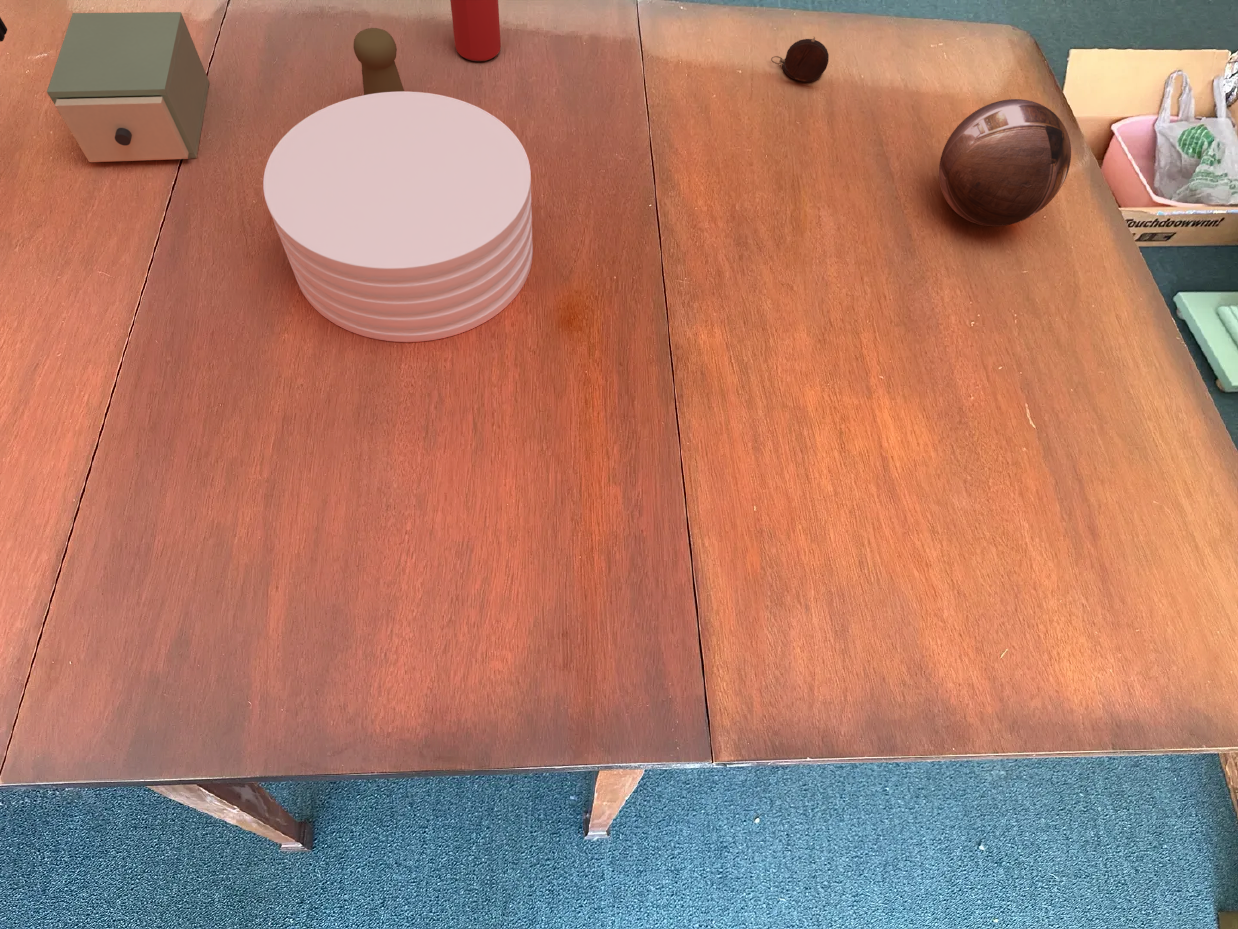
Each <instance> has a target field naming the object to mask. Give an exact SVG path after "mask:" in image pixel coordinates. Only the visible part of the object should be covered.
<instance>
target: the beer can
mask: <svg viewBox="0 0 1238 929" xmlns="http://www.w3.org/2000/svg"><path fill="white" fill-rule="evenodd" d="M449 3H450V11H451V19H452V20H451V21H452V29H453V38H454V47H455V50H456V52H457V53H458V54H459V55H460V56H461V57H462V58H464V59H466V60H467V61H468V60H469V61H472V62H486V61H490V60H492V59H494V58H495V57H497V55H498V54H499V53H500V51H501V48H502V43H501V25H500V7H499V0H450V2H449Z"/></svg>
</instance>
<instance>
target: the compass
mask: <svg viewBox="0 0 1238 929" xmlns="http://www.w3.org/2000/svg"><path fill="white" fill-rule="evenodd" d="M829 54H830V53H829V51H828V49H827V47H826V46H825V45H824V44H823V43H822V42H821V41H820V40H816V36H813V38H804V39H799V40H797V41H795V42H793V43H792V44H791V46H789V48H788V49H787V51H786V54H785V58H782V57H781V56H778V55H773V56H772V57H771V58H770V61H771V62H772V63H773V64H776V65H781V64H782V66H781V68H782V70H783V72H784V74H786V76H787V77H789V78H790V79H792V80H794V81H797V82H802V83H811V82H815V81H817V80H819V79H820V78H821V77H822V75H823V74H824V72H825V71H826V70H827V68H828V65H829V59H830V58H829V57H830V56H829ZM774 58H778V59H779V61H778V62H776V61H774V60H773V59H774Z"/></svg>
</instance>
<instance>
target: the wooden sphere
mask: <svg viewBox="0 0 1238 929" xmlns="http://www.w3.org/2000/svg"><path fill="white" fill-rule="evenodd" d="M1069 135H1070V134H1069V132H1068V130H1067V128H1066V126H1065V124H1064V123H1063V121H1062V120H1061V118H1060V117H1059V116H1058V115H1057V114H1056V113H1055V112H1053V111H1052V110H1051V109H1050V108H1048V107H1047V106H1045V105H1043V104H1041V103H1038V102H1036V101H1034V100H1033V101H1032V100H1029V99H1022V98H1021V99H1020V98H1010V99H1002V100H998V101H995V102H991V103H989V104H986V105H985V106H982V107H980V108H978V109H977V110H975V111H973V112H972V113H970V114H969V115H968V116H966V117H965V118H964V119H963V120H962V121H961V122H960V123H959V124H957V126H956V127H955V128H954V130H953V131H952V132H951V134H950V136H949V137H948V139H947V141H946V143H945V144H944V147H943V149H942V152H941V156H940V160H939V164H938V166H939V167H938V180H939V187H940V190H941V192H942V195H943V197H944V199H945V202H946V203H947V204H948V206H950V208H951V209H952V211H954V212H955V213H956V214H957V215H958V216H960V217H962V219H965V220H966V221H968V222H970V223H974V224H976V225H980V226H985V227H1005V226H1009V225H1014V224H1017V223H1021V222H1022V221H1025V220H1027V219H1029V218H1031V217H1032V216H1034V215H1036V214H1037V213H1039V212H1040V211H1041V210H1043V209H1044V208H1045V207H1046V206H1048V205H1049V204H1050V202H1052V200H1053V199H1054V198H1055V197H1056V195H1058V193H1059V191H1060V190H1061V189H1062V187H1063V185H1064V183H1065V181H1066V179H1067V176H1068V174H1069V172H1070V171H1069V170H1070V167H1071V161H1072V144H1071V138H1070V136H1069Z"/></svg>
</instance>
